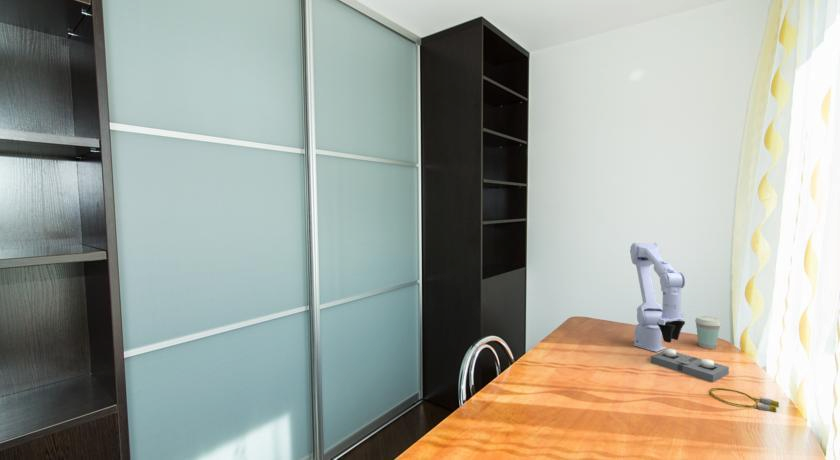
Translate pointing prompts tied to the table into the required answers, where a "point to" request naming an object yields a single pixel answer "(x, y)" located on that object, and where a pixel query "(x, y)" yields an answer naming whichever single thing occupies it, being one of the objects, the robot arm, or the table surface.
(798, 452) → the table surface
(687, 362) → the slider tab
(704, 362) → the button
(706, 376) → the switch panel
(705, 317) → the coffee cup
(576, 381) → the table surface
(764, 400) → the extension cord
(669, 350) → the button
